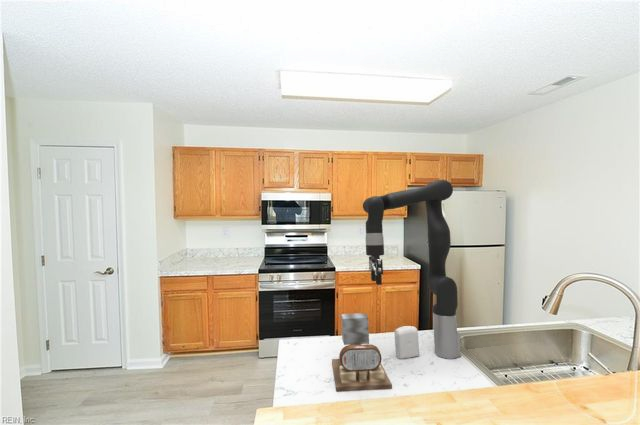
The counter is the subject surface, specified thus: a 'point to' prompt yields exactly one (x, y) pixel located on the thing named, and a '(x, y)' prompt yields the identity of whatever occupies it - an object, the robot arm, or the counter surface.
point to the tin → (360, 357)
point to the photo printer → (406, 342)
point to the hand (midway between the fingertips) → (376, 282)
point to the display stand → (357, 334)
